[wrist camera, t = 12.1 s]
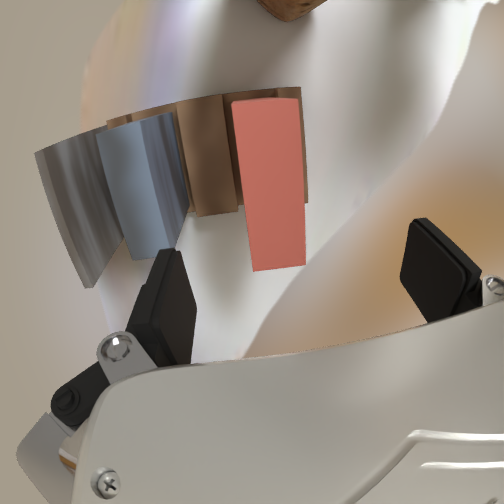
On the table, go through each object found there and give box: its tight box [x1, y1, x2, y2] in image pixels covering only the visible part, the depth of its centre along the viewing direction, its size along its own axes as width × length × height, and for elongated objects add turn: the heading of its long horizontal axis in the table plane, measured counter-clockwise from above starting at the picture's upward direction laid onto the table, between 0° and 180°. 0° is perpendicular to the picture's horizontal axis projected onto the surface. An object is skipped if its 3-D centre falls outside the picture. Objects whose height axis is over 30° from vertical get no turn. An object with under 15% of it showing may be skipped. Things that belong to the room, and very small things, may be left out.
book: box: [231, 97, 306, 272], centre depth 25 cm, size 4×12×16 cm, turn 6°
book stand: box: [35, 87, 308, 288], centre depth 26 cm, size 23×14×16 cm, turn 97°
